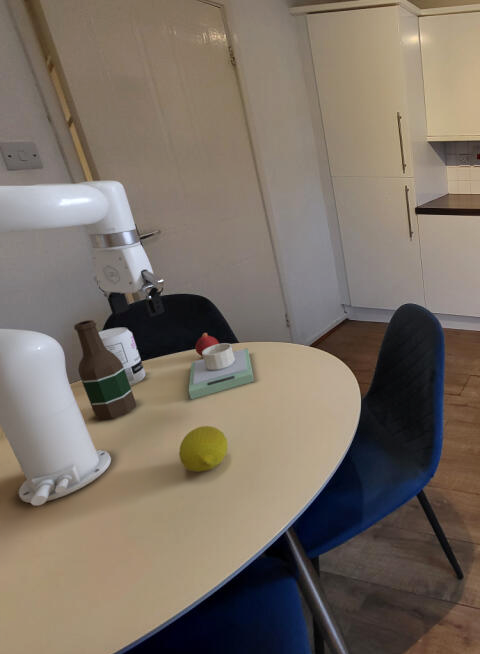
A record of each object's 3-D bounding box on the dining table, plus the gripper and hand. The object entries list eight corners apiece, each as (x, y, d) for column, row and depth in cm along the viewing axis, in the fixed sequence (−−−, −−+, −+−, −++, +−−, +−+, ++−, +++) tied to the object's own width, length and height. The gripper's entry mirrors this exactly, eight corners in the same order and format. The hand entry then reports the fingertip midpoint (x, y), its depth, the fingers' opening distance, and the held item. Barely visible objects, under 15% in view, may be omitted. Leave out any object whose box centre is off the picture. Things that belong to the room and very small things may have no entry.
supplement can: (99, 387, 112) (80, 338, 108) (133, 372, 120) (117, 324, 115) (120, 392, 110) (101, 341, 105) (153, 376, 117) (137, 328, 113)
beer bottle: (86, 418, 100) (50, 328, 92) (122, 399, 107) (91, 314, 99) (110, 423, 98) (75, 331, 90) (145, 403, 105) (115, 317, 98)
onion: (209, 362, 124) (203, 338, 122) (193, 361, 125) (187, 337, 123) (226, 353, 130) (220, 330, 127) (210, 351, 131) (204, 328, 128)
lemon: (231, 472, 83) (222, 438, 80) (182, 489, 79) (171, 455, 76) (231, 440, 91) (222, 410, 89) (187, 455, 87) (177, 423, 85)
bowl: (235, 366, 116) (231, 350, 115) (206, 373, 112) (201, 357, 111) (235, 356, 121) (231, 341, 120) (206, 363, 118) (202, 347, 116)
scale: (253, 381, 114) (251, 372, 113) (190, 399, 106) (187, 389, 105) (249, 355, 128) (247, 346, 127) (193, 369, 121) (190, 360, 120)
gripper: (62, 242, 87) (89, 317, 92) (130, 245, 84) (154, 322, 89) (102, 234, 94) (125, 305, 99) (166, 236, 91) (186, 308, 96)
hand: (138, 313), depth 94 cm, fingers open, 9 cm apart
